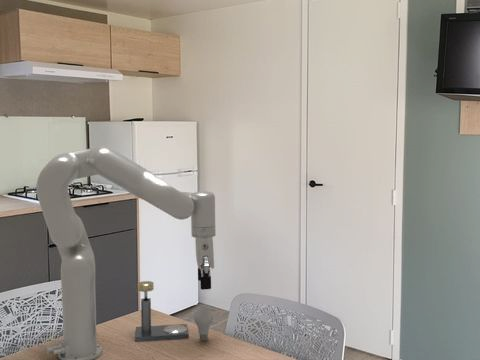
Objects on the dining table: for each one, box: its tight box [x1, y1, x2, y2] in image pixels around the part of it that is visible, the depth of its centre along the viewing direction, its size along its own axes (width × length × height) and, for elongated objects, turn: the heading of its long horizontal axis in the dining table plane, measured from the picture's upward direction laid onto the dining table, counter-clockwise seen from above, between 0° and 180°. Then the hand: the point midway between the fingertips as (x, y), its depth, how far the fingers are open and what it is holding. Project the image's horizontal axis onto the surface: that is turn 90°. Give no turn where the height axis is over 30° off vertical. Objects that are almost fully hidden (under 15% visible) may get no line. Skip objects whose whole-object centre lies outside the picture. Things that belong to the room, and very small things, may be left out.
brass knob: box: [137, 280, 154, 301], centre depth 172 cm, size 5×5×6 cm
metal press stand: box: [134, 297, 190, 343], centre depth 174 cm, size 17×9×12 cm, turn 99°
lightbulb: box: [193, 306, 214, 342], centre depth 169 cm, size 6×6×11 cm
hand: (204, 284), depth 168 cm, fingers open, 9 cm apart
